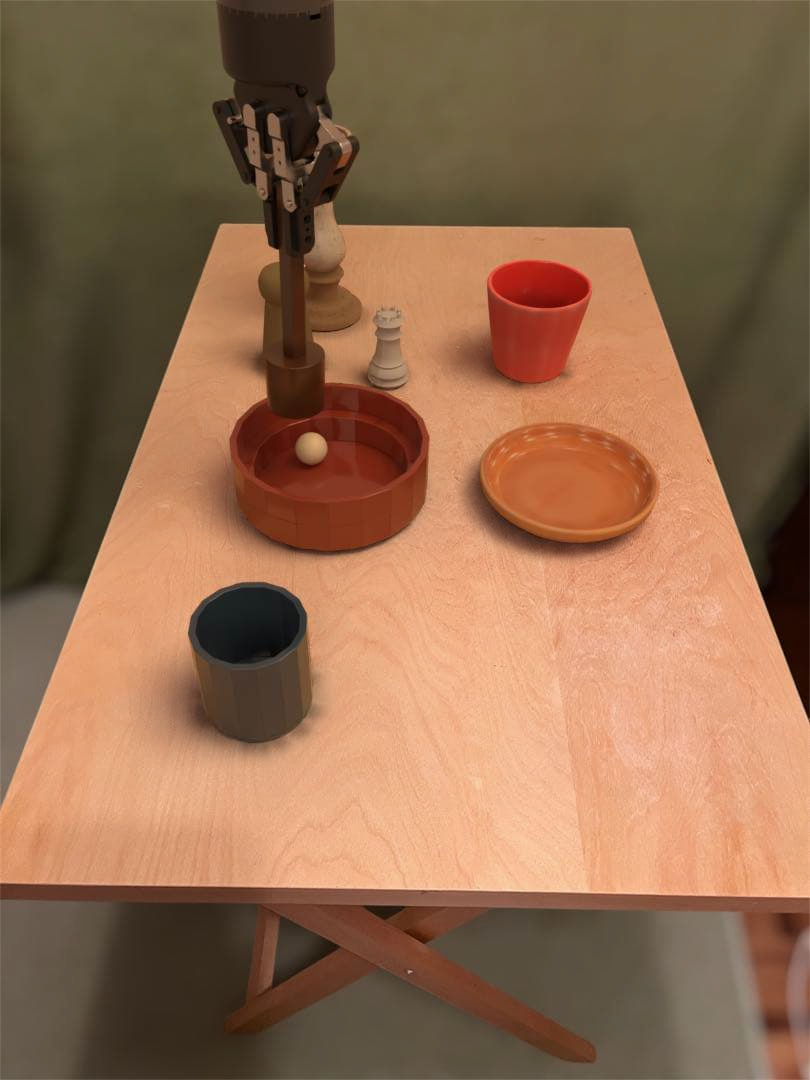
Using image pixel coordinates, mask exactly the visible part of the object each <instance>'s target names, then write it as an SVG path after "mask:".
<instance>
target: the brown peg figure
mask: <svg viewBox="0 0 810 1080" xmlns="http://www.w3.org/2000/svg"><path fill="white" fill-rule="evenodd" d="M304 282H305V297H306V296H307V294H308V291H309V286H310V284H309V278H308V275H307V272H306V271H305V269H304ZM257 286H258V291H259V293H260V296H261V297H262V298H263V300H264V308H263V309H264V311H263V330H262V331H263V333H262V348H261V349H262V352H261V365H262V368H263V369H264V370H265V350H266V348H267V347H268V346H269V345H271V344H272V343H274V342H277V341H280V340H283V336H282V313H281V290H280V267H279V261H275V262H271V263H269V264H267V265H264V266H263V268H262V269H261V270H260V272H259V275H258V278H257ZM305 323H306V340H310V341H313V342H315V341H314V336H313V335H314V334H313V330H311V326H310V321H309V316H308V311H307V306H306V301H305Z"/></svg>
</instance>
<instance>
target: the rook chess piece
mask: <svg viewBox="0 0 810 1080" xmlns="http://www.w3.org/2000/svg"><path fill="white" fill-rule="evenodd" d="M405 320H406V319H405V317H404V316H403V315H402V309H401V308H399V307H398V308H396V306H395V305H390V308H389V309H388V307H387V305H382V306H381V308H380V307H378V308H376V313H375V315H374V316H373V318H372V323H373V324H374V325H375V327H376V330H375V331H374V335H375V336H376V344H375V351H374V354H373V355H372V357H371V360H370V361H369V362H368V366H367V371H368V372H367V379H368V381H370V383H371V384H372V385H373V386H375V387H377V389H382V390H394V389H398V388H400V387H402V386H404V385H405V384H406V383H407V381H408V380H409V379H410V373H409V364H408V362H407V361H406V360H405V359H406V358H405V356H404V355H403V353H402V346H401V338H402V336H403V331H402V330H401V327H402V326H403V325H404V324H405V323H406V321H405Z"/></svg>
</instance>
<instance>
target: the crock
mask: <svg viewBox="0 0 810 1080" xmlns="http://www.w3.org/2000/svg"><path fill="white" fill-rule="evenodd" d="M308 617H309V616H308V612H307V610H306V608H305V607H304V605H303V602H302V601H301V599H300V598H299V597H297V596H296V595H295V594H293V592H291V591H289V590H288V589H287V588H286V587H284V586H279V585H276V584H272V583H269V582H266V581H243V582H242V581H241V582H237V583H234V584H231V585H227V586H224V587H221V588H219V589H217V590H216V591H214V592H213V593H211V594H210V595H208V596H206V597H205V598H204V599H203V600H201V602H200V603H199V604H198V605H197V607H196V608H195V609H194V611H193V612H192V614H191V616H190V619H189V624H188V630H187V637H188V642H189V646H190V651H191V657H192V660H193V665H194V670H195V675H196V679H197V684H198V689H199V693H200V698H201V703H202V706H203V709H204V712H205V716H206V718H207V720H208V721H209V723H210V724H211V726H212V727H213V728H214V729H215V730H216V731H217V732H219V733H220V734H222V735H223V736H225V737H227V738H229V739H232V740H234V741H238V742H244V743H263V742H268V741H272V740H275V739H278V738H281V737H283V736H285V735H287V734H289V733H290V732H291V731H293V730H294V729H296V728H297V727H298V726H299V725H300V724H301V723H302V722H303V720H305V718H306V716H307V715H308V713H309V711H310V709H311V706H312V703H313V697H314V696H313V695H314V694H313V686H314V685H313V684H314V683H313V672H312V671H313V670H312V658H311V657H312V656H311V644H310V631H309V630H310V629H309V618H308Z"/></svg>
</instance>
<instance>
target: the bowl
mask: <svg viewBox="0 0 810 1080" xmlns="http://www.w3.org/2000/svg"><path fill="white" fill-rule="evenodd" d="M309 432H313V433H317V434H319V435H321V436H322V437H323V438H324V439H325V441H326V443H327V447H328V450H327V454H326V457H325V458H324V459H323V461H321V462H320V463H318V464H315V465H308V464H305V463H303V462H302V461H300V460H299V458H298V457H297V455H296V452H295V445H296V442H297V440H298V439H299V437H300V436H302V435H303V434H305V433H309ZM228 440H229V441H228V442H229V450H230V451H229V452H230V460H231V466H232V472H233V473H232V474H233V481H234V490H235V495H236V504H237V507H238V508H239V510H240V511H241V513H242V514H243V516H244V518H245V519H246V520H247V522H248V524H250V525H251V526H252V527H254V528H255V529H257V530H258V531H259V532H261V533H262V534H264V535H265V536H267V537H268V538H269V539H271V540H273V541H277V542H279V543H282V544H285V545H289V546H292V547H294V548H296V549H304V550H305V549H306V550H315V551H325V552H326V551H327V552H335V551H342V550H349V549H357V548H362V547H363V548H365V547H366V546H369V545H372V544H375V543H378V542H380V541H382V540H385V539H388V538H390V537H392V536H394V535H395V534H396V533H398V532H400V531H401V530H402V529H404V528H405V527H406V526H408V525H409V524H410V523H412V522H413V521H414V519H415V518H416V517H417V515H418V513H419V512H420V510H421V509H422V507H423V506H424V504H425V502H426V495H427V491H428V490H427V489H428V481H429V480H428V477H429V476H428V475H429V459H430V440H431V439H430V433H429V431H428V429H427V425H426V423H425V421H424V419H423V417H422V416H421V415H420V414H419V413H418V412H417V411H416V410H415V409H414V408H413V407H412V406H411V405H410V404H409V403H408V402H406V401H404V400H402V399H400V398H398V397H397V396H395V395H393V394H391V393H389V392H387V391H384V390H380V389H378V388H374V387H370V386H367V385H363V384H356V383H343V382H325V407H324V409H323V410H322V411H321V412H320V413H319V414H317V415H315V416H313V417H310V418H307V419H299V420H294V419H286V418H282V417H279V416H277V415H275V414H274V413H272V412H271V411H270V410H269V408H268V405H267V397H265V398H263V399H261V400H259V401H258V402H255V403H253V404H252V405H251V406H250V407H249V408H248V409H247V410H246V411H245V412H243V414H242V415H241V416H240V417H239V418H237V420H236V422H235V425H234V427H233V429H232V431H231V434H230V436H229V438H228Z"/></svg>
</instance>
